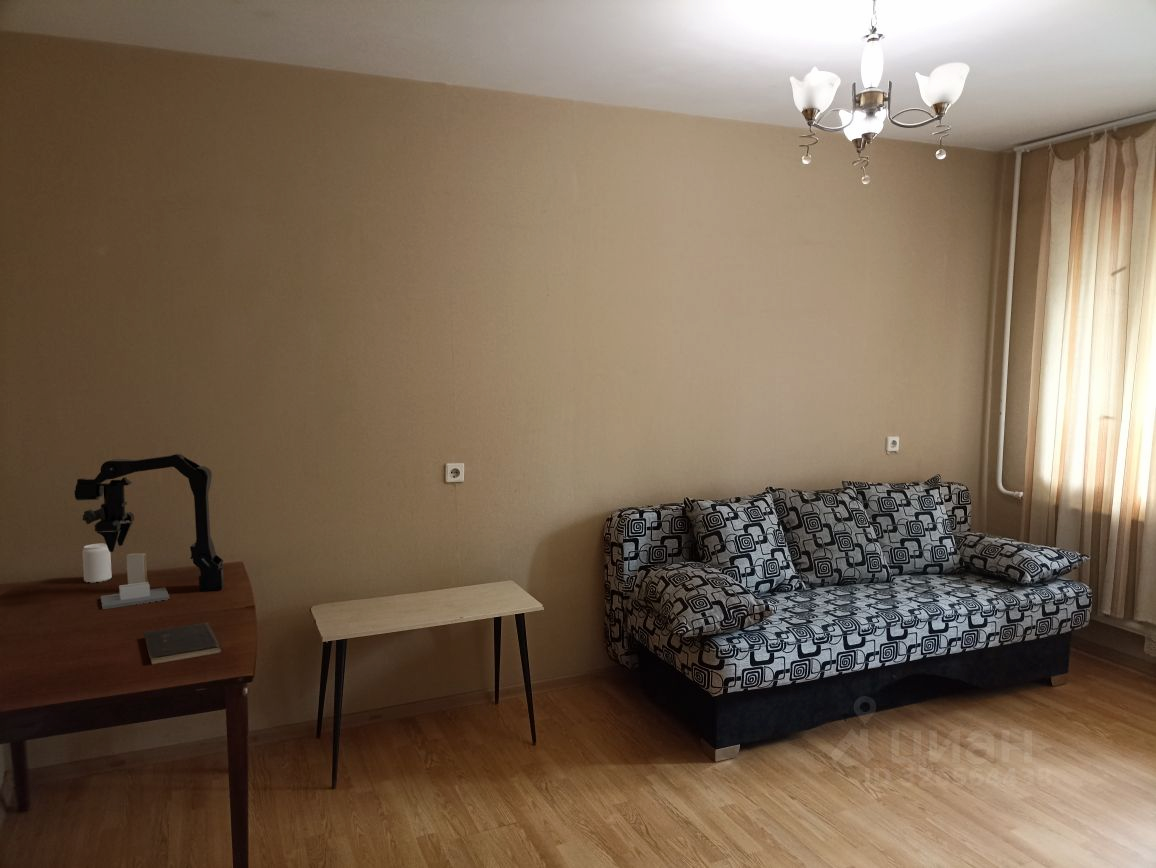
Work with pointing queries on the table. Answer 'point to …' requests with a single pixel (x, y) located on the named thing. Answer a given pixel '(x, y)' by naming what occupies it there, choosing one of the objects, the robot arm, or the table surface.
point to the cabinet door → (136, 568)
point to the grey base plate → (134, 595)
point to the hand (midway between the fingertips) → (115, 548)
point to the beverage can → (96, 563)
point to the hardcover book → (181, 643)
